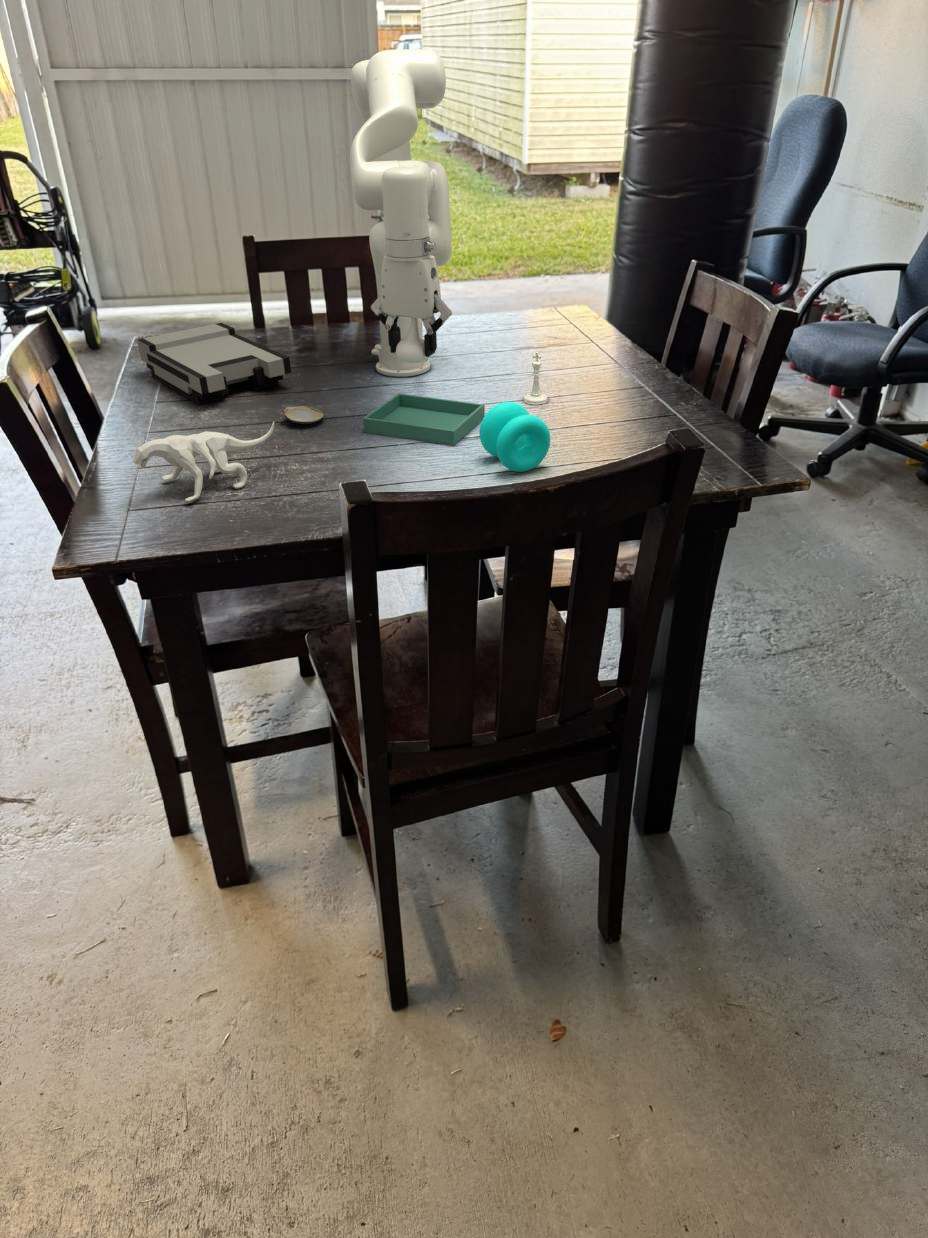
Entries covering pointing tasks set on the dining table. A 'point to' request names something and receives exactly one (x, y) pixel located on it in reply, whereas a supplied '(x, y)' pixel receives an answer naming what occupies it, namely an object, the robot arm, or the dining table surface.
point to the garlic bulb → (412, 346)
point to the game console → (211, 362)
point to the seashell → (302, 414)
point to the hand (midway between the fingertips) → (412, 351)
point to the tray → (424, 418)
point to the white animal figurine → (205, 444)
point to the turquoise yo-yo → (514, 436)
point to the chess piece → (536, 385)
